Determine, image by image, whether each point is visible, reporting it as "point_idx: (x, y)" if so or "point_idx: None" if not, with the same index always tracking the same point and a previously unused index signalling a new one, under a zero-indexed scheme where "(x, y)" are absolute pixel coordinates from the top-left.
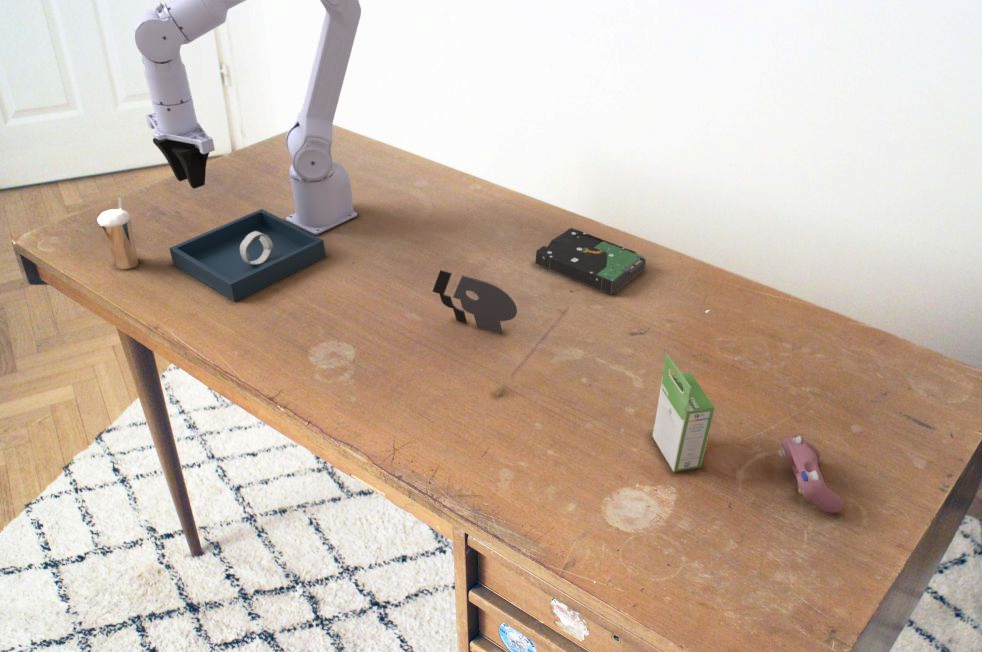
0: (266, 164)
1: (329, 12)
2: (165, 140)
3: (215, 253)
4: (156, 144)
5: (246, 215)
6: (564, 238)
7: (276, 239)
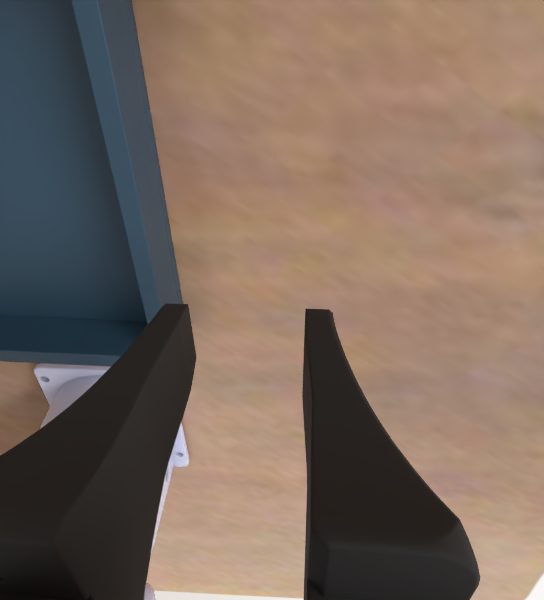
0: (481, 493)
1: None
2: (328, 585)
3: (74, 108)
4: (401, 515)
5: None
6: None
7: (54, 294)
